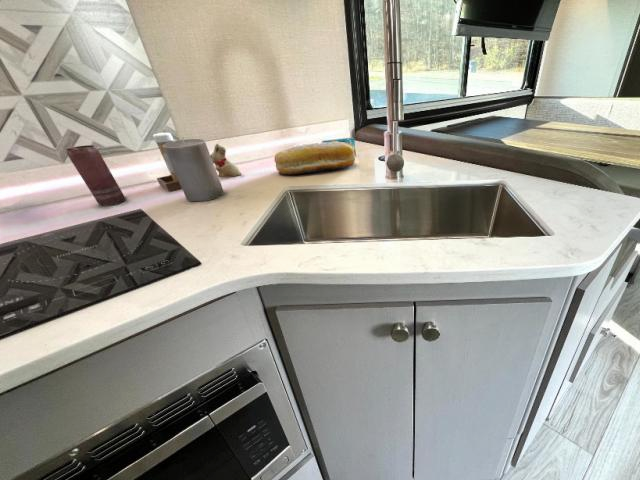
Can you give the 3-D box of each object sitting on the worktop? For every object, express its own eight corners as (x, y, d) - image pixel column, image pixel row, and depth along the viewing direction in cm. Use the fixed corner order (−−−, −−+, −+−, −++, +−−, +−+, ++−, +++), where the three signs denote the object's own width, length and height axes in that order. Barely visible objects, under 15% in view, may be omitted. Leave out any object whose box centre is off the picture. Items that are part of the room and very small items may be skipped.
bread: (360, 169, 106) (357, 143, 101) (279, 180, 99) (272, 152, 94) (350, 160, 116) (347, 136, 111) (276, 169, 109) (269, 144, 104)
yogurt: (325, 159, 118) (322, 141, 114) (324, 158, 119) (321, 140, 115) (356, 155, 121) (354, 137, 117) (355, 154, 122) (353, 137, 118)
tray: (169, 192, 92) (165, 184, 91) (160, 185, 98) (156, 178, 96) (208, 182, 99) (205, 175, 97) (197, 177, 104) (194, 169, 102)
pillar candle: (217, 187, 94) (196, 132, 85) (229, 195, 88) (207, 136, 79) (182, 196, 89) (155, 137, 80) (191, 204, 83) (164, 142, 74)
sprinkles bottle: (176, 180, 99) (155, 132, 91) (192, 178, 100) (172, 131, 91) (172, 184, 95) (149, 135, 87) (188, 183, 96) (167, 134, 88)
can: (103, 200, 88) (70, 146, 80) (129, 197, 90) (99, 143, 81) (94, 207, 84) (57, 151, 75) (121, 204, 85) (88, 148, 77)
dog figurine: (230, 171, 108) (219, 139, 102) (243, 174, 105) (233, 141, 99) (215, 175, 105) (202, 142, 99) (228, 179, 101) (216, 145, 95)
